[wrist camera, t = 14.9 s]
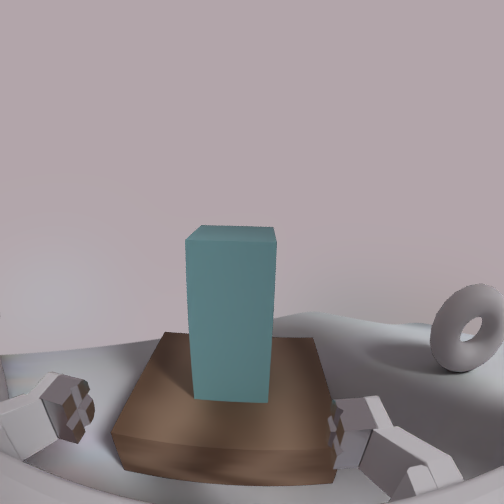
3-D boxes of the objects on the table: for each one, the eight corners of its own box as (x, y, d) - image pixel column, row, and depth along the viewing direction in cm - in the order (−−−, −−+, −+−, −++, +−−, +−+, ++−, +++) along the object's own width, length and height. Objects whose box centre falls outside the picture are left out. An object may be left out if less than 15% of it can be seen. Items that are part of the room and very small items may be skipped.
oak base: (308, 372, 30) (312, 337, 29) (332, 483, 17) (344, 446, 16) (168, 366, 31) (164, 331, 30) (124, 469, 17) (110, 432, 16)
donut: (425, 381, 27) (450, 289, 25) (415, 364, 30) (436, 277, 28) (497, 374, 26) (524, 290, 23) (485, 359, 29) (508, 279, 27)
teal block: (266, 363, 25) (273, 227, 22) (267, 402, 20) (276, 242, 18) (204, 360, 25) (201, 225, 23) (194, 398, 20) (185, 239, 18)
